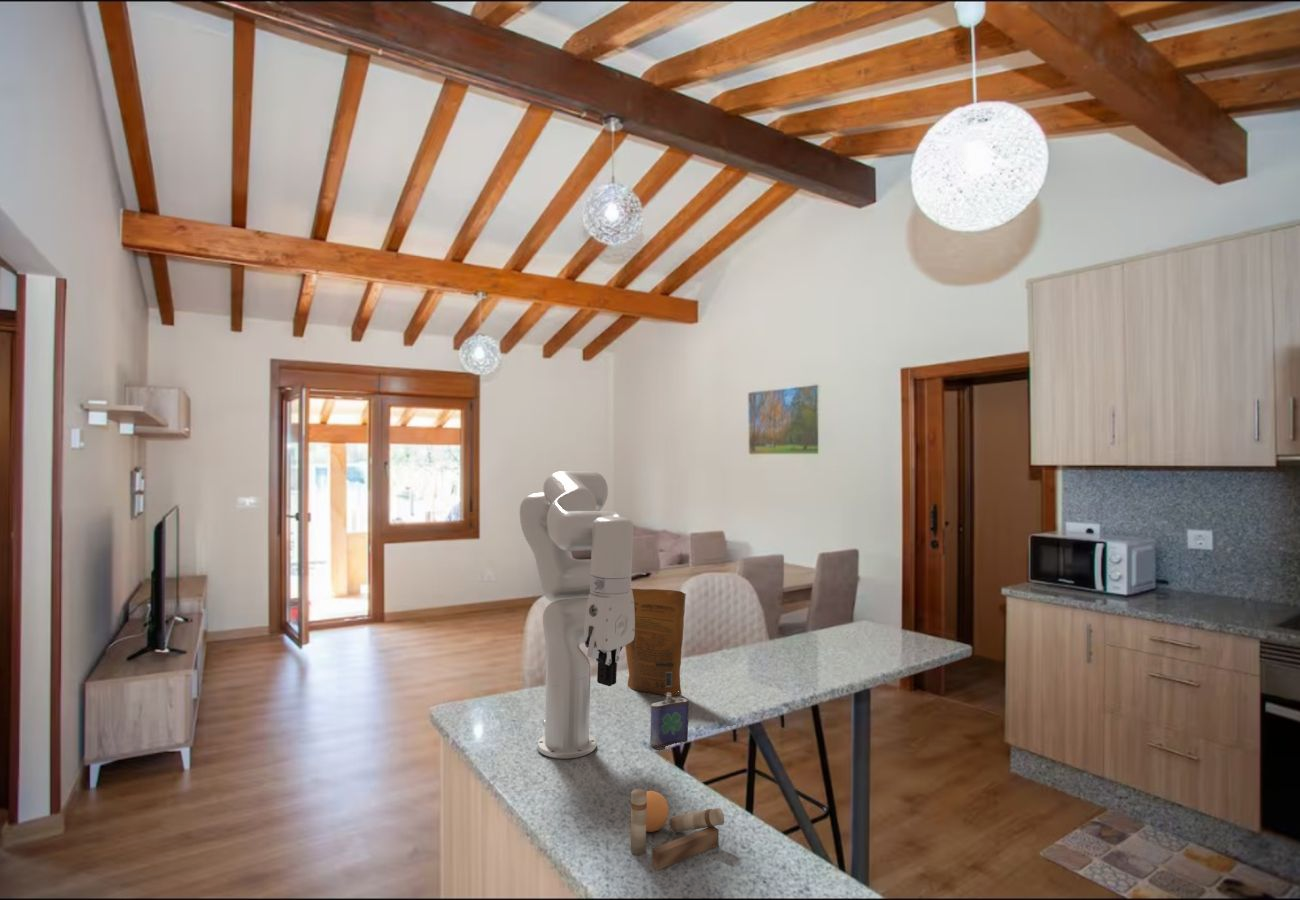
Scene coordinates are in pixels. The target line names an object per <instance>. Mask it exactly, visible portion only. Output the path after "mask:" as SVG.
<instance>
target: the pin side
mask: <svg viewBox="0 0 1300 900" xmlns="http://www.w3.org/2000/svg"><path fill="white" fill-rule="evenodd" d="M646 791H647V790H646V789H643V788H635V789H633V790H631V796H630V797H631V799H630V847H629V848H630V853H631V854H633V855H635V856H641V855H644V854H645V853H646V850H647V847H646V846H647V831H646V808H647V792H646Z"/></svg>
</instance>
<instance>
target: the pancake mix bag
mask: <svg viewBox="0 0 1300 900" xmlns="http://www.w3.org/2000/svg"><path fill="white" fill-rule="evenodd" d="M631 590H632V592H633V598H634V609H635V636H634V639H633V641H632V642H631V643H629V644H627V645H626V646H625V647H624V648H625V657H626V662H627V669H628V675H629V676H628V678H627V679H628V680H627V686H628V688H629V689H631V690H633V691H637V692H644V693H647V694H648V693H649V694H655V695H661V696H665V697H667V694H666V693H669V692H670V693H672V694H671V696H672V697H674V696H676V697H677V696H679V695H682V690H681V689H682V688H681V676H680V673H681V664H682V650H683V649H682V648H683V642H684V641H683V640H684V627H685V626H684V625H685V623H684V622H685V612H686V609H685V608H686V596H687V594H686V593H684V592H683V591H682V590H681V591H680V590H671V589H660V588H659V589H658V588H654V589H653V588H645V589H643V588H632V587H631ZM678 691H679V692H678ZM665 694H666V695H665Z"/></svg>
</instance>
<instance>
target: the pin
mask: <svg viewBox="0 0 1300 900" xmlns="http://www.w3.org/2000/svg"><path fill="white" fill-rule="evenodd" d="M724 823H725V814H724V811H723V809H722V808H721V807H716V808H709V809H705V810H701V811H699V810H698V811H693V812H689V813H687V812H686V813H683V814H677V815H671V816H670V819H669V827H670V830H671V832H673V833H680V832H685V831H691V830H692V831H693V830H699V829H705V828H707V827H717V826H722V825H724Z"/></svg>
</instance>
